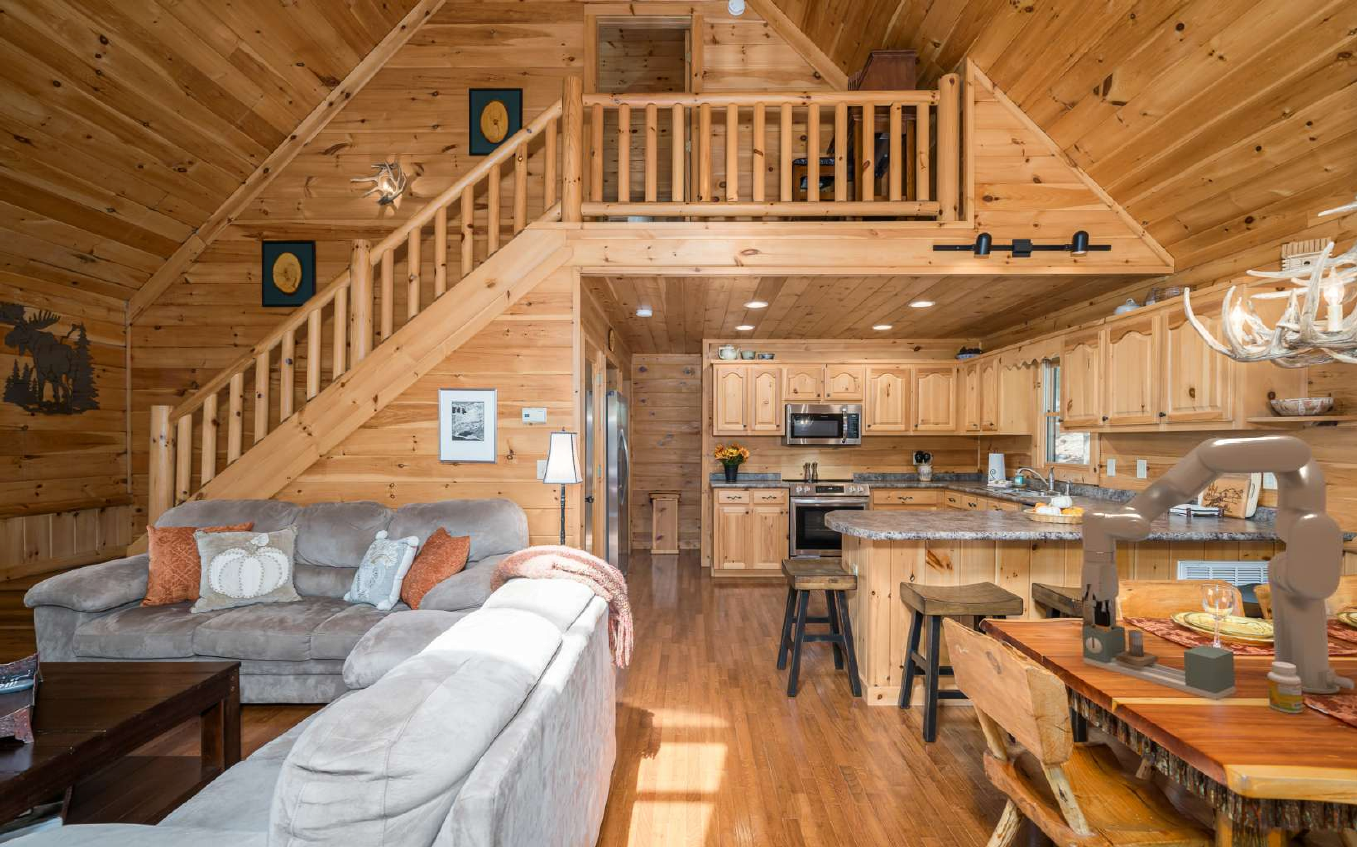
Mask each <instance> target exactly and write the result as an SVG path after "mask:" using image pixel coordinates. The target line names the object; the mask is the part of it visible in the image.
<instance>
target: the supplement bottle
mask: <svg viewBox="0 0 1357 847" xmlns="http://www.w3.org/2000/svg"><path fill="white" fill-rule="evenodd" d="M1271 670H1272V672H1271V671H1269V672H1270V673H1269V672H1268V673H1269V674H1268V673H1267V674H1268V678H1267V682H1268V684H1267V685H1268V696H1269V697H1268V699H1269V706H1270V707H1271V708H1272V709H1274V710H1277V711H1279V712H1282V713H1289V714H1300V713H1303V710H1304V709H1303V691H1302V690H1301V679H1300V678H1299V677H1298V676H1297V675H1295V673H1296V666H1295V665H1293V664H1290V663H1285V662H1275V661H1272V662H1271Z"/></svg>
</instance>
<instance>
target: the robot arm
mask: <svg viewBox="0 0 1357 847" xmlns="http://www.w3.org/2000/svg"><path fill="white" fill-rule="evenodd" d="M1266 473H1268V474H1270V473H1272V475H1273V476H1274V478H1275V480H1276V485H1277V500H1276V501H1277V502H1276V512H1275V521H1274V529H1275V533H1276V535H1277V537H1278V538H1279V539H1280V540H1281V541H1282V542H1284V543H1286V546H1285V551H1281V552H1279V553H1276V554H1275V555H1274V556H1272V557H1271V559H1270V560H1269V562H1268V565H1267V567H1266V568H1267V570H1266V573H1267V574H1266V575H1267V581H1268V586H1269V591H1270V600H1271V601H1270V602H1271V612H1272V613H1271V614H1272V616H1271V617H1272V631H1273V646H1274V647H1273V648H1274V662H1285V663H1290V664H1293V665H1295V666H1296V673H1295V675H1297V676H1298V677H1299V678H1300V679H1301V690H1302V693H1303V692H1304V693H1310V694H1321V695H1322V694H1324V695H1325V694H1327V695H1328V694H1336V693H1338V692H1340V687H1341V688H1343V689H1348V690H1350V691H1351V690H1352V691H1353V690H1354V689H1355V682H1354V680H1353V681H1352V679H1351V678H1348V677H1345V676H1344V677H1343V676H1338V674H1336V672H1335V668H1330V659H1329V656H1330V655H1329V643H1328V642H1329V641H1328V625H1327V623H1328V620H1327V607H1326V603H1325V602H1326V601H1325V600H1326V599H1328V598H1330V597H1331V596H1333V595H1334V594H1335V593H1336V592H1337V590H1338V589H1339V585H1340V582H1341V574H1342V573H1341V572H1342V565H1343V564H1342V561H1343V549H1344V547H1343V546H1344V538H1343V532H1342V528H1341V527H1340V525H1339V523H1338V522H1337V521H1336V520H1335V519H1333V517H1331V516H1329V515H1327V513H1326V512H1327V485H1326V478H1325V474H1324V473H1323V470H1322V468H1321V466H1320V465H1319V463H1318V462H1317V461H1316V460H1315V458H1314V457H1313V456H1312V451H1311V449H1310V446H1309V445H1308V444H1307V443H1306V442H1305V441H1304V440H1303V439H1300V438H1298V437H1296V436H1291V435H1282V434H1268V435H1264V436H1262V437H1241V438H1239V437H1238V438H1225V437H1223V438H1222V437H1221V438H1220V437H1214V438H1213V437H1212V438H1208V439H1206V440H1204V441H1202V442H1200V444H1198V445H1197V446H1196V447H1195V448H1194V449H1192V450H1190V452H1189V453H1187V454H1186V455H1185V456H1184V457H1183V458H1181V460H1179V461H1178V462H1176V464H1175V465H1174V466H1172V467H1170V469H1168V470H1167V471H1166V472H1165V473H1164V474H1163V475H1161V476H1160V477H1159V478H1157V479H1155V481H1153V482H1152V483H1151V484H1149V486H1147V487H1145V488H1144V489H1143V490H1141V491H1140V492H1139V493H1138V494H1136V495H1135V496H1134V497H1133V498H1132V499H1130V500H1129V501H1128V502H1127V503H1126V504H1125V505H1123V506H1122V507H1121V508H1119V510H1118V511H1117V512H1116V513H1112V512H1111V511H1107V510H1087V511H1084V512H1083V513H1082V514H1081V531H1082V532H1081V534H1082V554H1083V556H1082V557H1083V562H1082V567H1081V578H1080V595H1081V599H1082V598H1084V599H1088V605H1090V606H1093V610H1094V615H1095V624H1096V625H1099V626H1104V627H1108V626H1110V625H1111V624H1110V610H1111V603H1112V602H1114V601H1115V602H1116V598H1117V597H1118V596H1119V592H1120V585H1119V575H1118V566H1117V547H1116V546H1117V544H1116V543H1117V542H1116V539H1117V540H1123V541H1130V542H1139V541H1143V540H1145V539H1147V538H1148V537H1149V536H1150V535H1151V533H1152V530H1153V529H1152V528H1153V527H1152V523H1153V522H1154V521H1155V520H1157V519H1158V518H1159V517H1160V516H1162V515H1163V514H1165V513H1166V512H1168V511H1170V510H1171V509H1174V508H1175V507H1178V506H1182V505H1185V504H1187V503H1189V502H1190V501H1192V500H1194V499H1195V498H1196V497H1198V496H1199V495H1200V494H1201V493H1202V492H1204V490H1206V489H1207V488H1208V487H1210V486H1211V485H1212V484H1213V483H1214V482H1216V481H1217V480H1218V479H1220V478H1221V477H1222V476H1223V475H1224V474H1266ZM1272 671H1273V670H1272ZM1272 671H1269V672H1267V674H1266V676H1267V679H1268V674H1269V673H1270V672H1272Z"/></svg>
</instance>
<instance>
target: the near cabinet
mask: <svg viewBox="0 0 1357 847" xmlns="http://www.w3.org/2000/svg"><path fill="white" fill-rule="evenodd" d="M1234 658H1235V657H1234V651H1233V650H1228V649H1225V648H1224V649H1223V648H1221V647H1220V648H1219V647H1215V646H1211V645H1206V644H1201V645H1198V646H1196V647H1192V648H1190V649H1188V650H1187V649H1186V650H1184V651H1183V659H1184V671H1185V682H1186V686H1190V687H1193V688H1197V689H1200V690H1204V691H1208V692H1211V693H1215V694H1216V693H1219V692H1221V691H1223V690H1226V689H1228V688H1231V687H1233V686H1235V687H1236V680H1235V678H1236V676H1235V659H1234Z"/></svg>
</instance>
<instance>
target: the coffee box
mask: <svg viewBox="0 0 1357 847" xmlns="http://www.w3.org/2000/svg"><path fill="white" fill-rule="evenodd" d="M1116 607H1117V605H1116V600H1115V601H1114V602H1112V603H1111V610H1110V624H1112V625H1117V610H1116V609H1117V608H1116ZM1081 609H1082V627H1086V626H1089V625H1093V624H1095V615H1094V610H1093V606H1090V605H1088V599H1084V598H1082V597H1081Z"/></svg>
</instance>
